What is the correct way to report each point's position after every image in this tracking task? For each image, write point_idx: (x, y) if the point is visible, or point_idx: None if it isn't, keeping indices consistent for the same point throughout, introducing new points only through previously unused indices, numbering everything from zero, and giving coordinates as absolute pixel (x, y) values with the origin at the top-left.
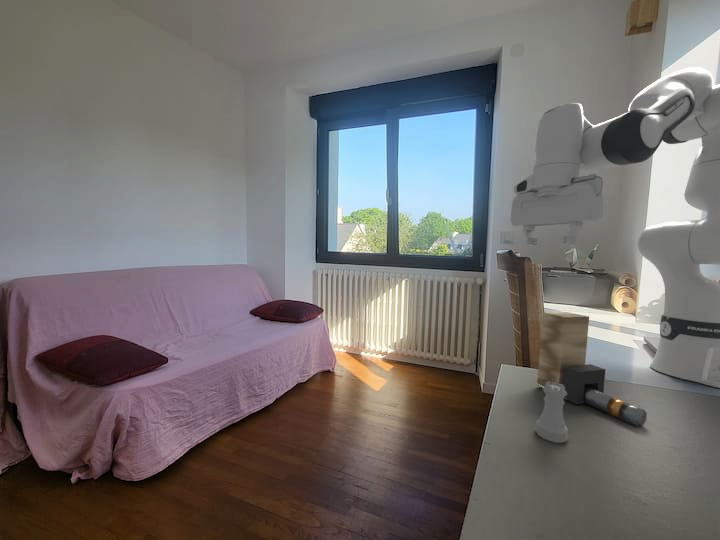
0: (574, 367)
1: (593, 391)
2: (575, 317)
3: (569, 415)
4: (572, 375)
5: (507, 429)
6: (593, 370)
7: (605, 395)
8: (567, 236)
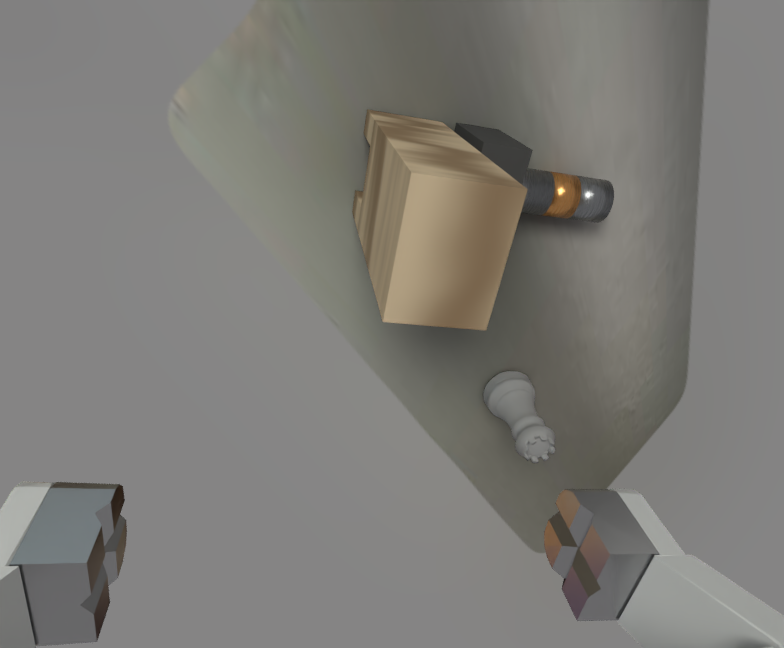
0: None
1: None
2: (502, 272)
3: None
4: None
5: (456, 432)
6: None
7: (536, 203)
8: (623, 618)
